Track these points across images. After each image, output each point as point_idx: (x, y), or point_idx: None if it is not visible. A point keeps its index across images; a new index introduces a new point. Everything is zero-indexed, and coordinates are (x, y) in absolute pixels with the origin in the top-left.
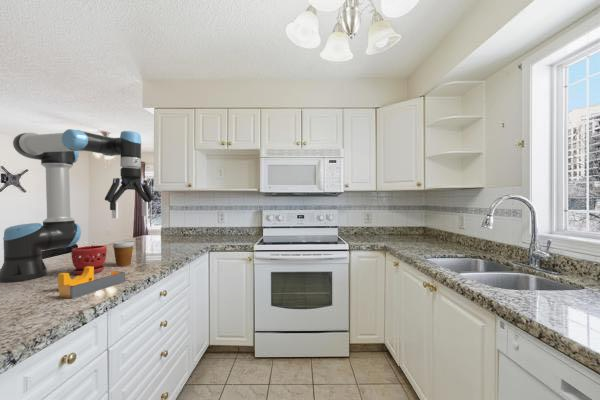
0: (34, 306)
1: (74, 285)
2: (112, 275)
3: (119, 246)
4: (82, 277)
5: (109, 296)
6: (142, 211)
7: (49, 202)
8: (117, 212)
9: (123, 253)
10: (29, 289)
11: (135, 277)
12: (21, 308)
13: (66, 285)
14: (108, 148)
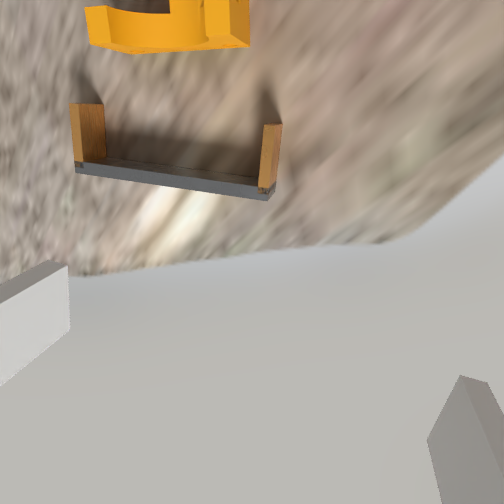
0: (29, 118)
1: (164, 50)
2: (214, 188)
3: None
4: (196, 30)
5: (146, 258)
6: (485, 435)
7: None
8: (11, 369)
9: None
10: None
11: (337, 187)
12: (8, 97)
13: (77, 132)
14: None
